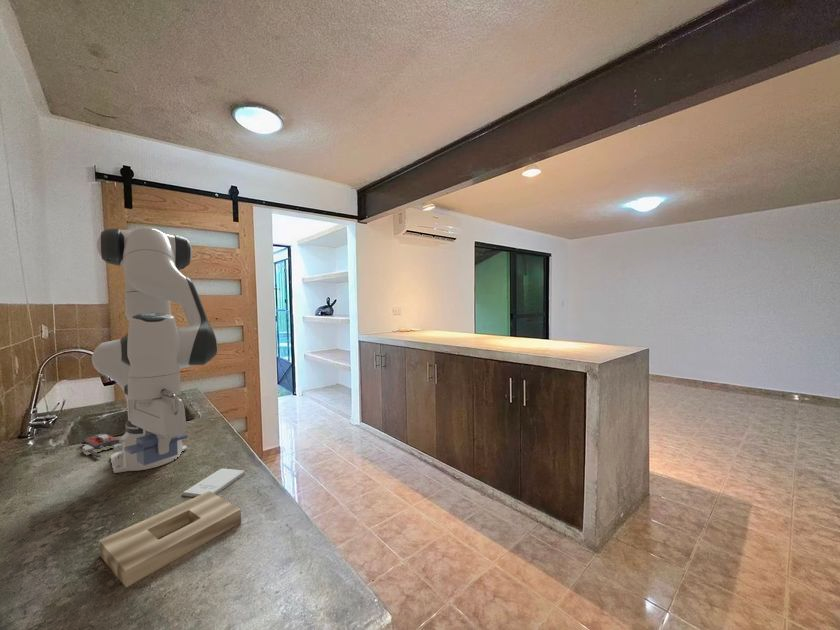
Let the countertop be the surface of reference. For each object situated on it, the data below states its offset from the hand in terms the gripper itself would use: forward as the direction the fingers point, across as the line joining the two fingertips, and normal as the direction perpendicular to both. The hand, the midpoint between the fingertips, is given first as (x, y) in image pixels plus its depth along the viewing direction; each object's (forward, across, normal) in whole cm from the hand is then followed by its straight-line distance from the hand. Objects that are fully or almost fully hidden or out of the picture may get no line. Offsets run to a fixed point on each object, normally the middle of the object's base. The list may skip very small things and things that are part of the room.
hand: (157, 450), depth 72 cm
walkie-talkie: (+16, +66, -6) cm, 69 cm away
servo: (+2, 0, 0) cm, 2 cm away
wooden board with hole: (+17, -6, 0) cm, 18 cm away
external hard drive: (+18, +9, -16) cm, 25 cm away
